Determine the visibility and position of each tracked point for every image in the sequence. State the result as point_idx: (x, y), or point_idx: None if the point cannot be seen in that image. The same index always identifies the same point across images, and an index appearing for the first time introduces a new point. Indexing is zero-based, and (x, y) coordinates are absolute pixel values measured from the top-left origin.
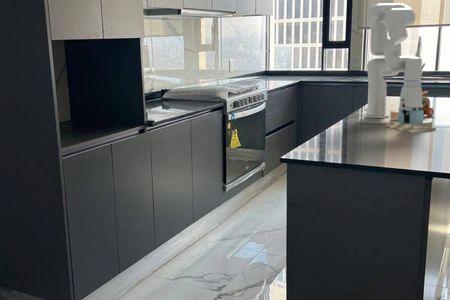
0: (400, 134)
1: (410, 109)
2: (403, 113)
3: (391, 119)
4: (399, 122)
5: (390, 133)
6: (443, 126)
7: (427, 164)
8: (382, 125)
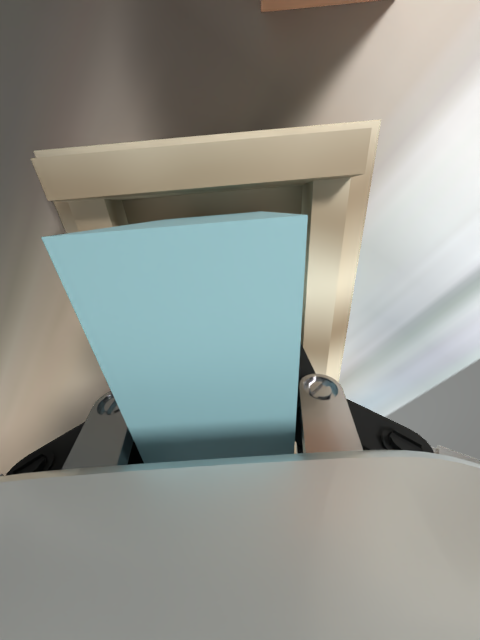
0: (75, 427)
1: (264, 418)
2: (102, 412)
3: (55, 174)
4: (199, 193)
5: (23, 391)
6: (460, 360)
7: None
8: (43, 10)
